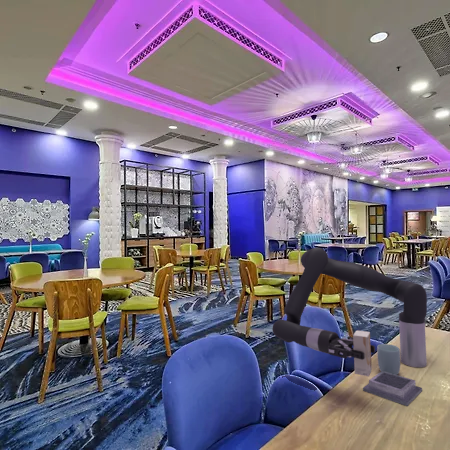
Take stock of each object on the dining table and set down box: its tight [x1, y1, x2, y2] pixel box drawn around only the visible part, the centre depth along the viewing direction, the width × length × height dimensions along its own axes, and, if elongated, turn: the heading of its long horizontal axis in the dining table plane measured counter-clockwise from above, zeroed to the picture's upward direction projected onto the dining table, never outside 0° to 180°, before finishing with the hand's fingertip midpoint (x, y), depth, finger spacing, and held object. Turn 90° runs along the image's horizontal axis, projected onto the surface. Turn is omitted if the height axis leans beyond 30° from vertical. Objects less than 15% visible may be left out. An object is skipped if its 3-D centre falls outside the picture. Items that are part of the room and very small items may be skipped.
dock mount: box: [362, 371, 423, 407], centre depth 110 cm, size 14×14×4 cm
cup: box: [376, 343, 401, 375], centre depth 123 cm, size 8×8×10 cm
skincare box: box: [352, 330, 373, 377], centre depth 102 cm, size 6×4×12 cm
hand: (369, 352), depth 101 cm, fingers closed on skincare box, 7 cm apart
